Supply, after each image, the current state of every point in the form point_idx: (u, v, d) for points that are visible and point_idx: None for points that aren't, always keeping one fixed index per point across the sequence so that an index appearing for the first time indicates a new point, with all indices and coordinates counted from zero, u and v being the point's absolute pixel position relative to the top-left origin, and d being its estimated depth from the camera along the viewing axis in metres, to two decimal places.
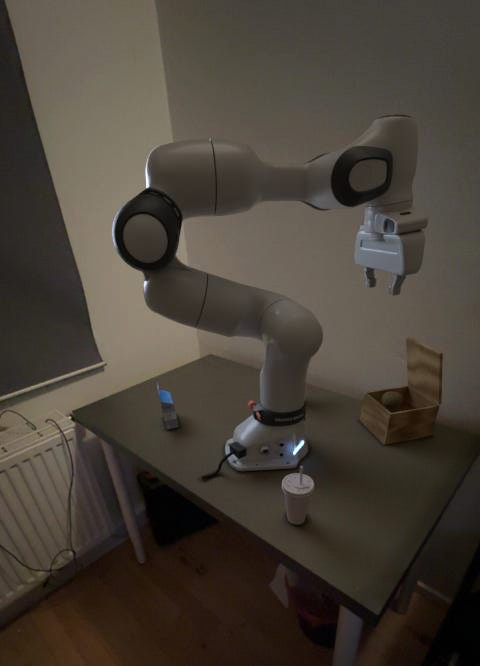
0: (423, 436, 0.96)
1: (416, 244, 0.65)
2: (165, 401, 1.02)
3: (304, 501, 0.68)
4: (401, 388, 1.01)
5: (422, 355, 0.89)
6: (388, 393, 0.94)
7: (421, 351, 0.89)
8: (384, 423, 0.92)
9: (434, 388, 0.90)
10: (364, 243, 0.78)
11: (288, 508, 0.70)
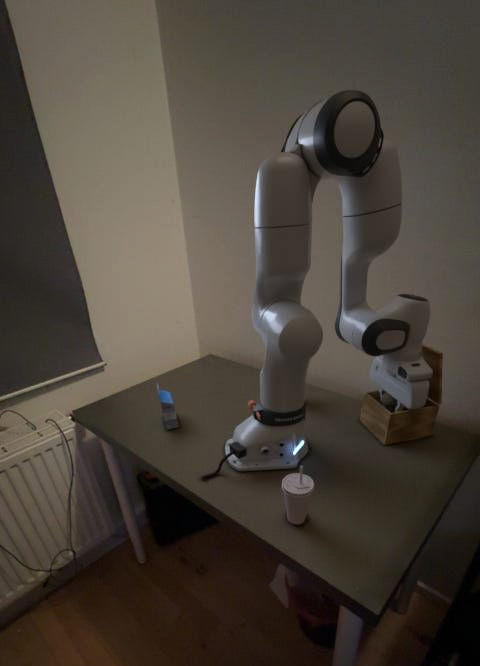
0: (423, 436, 0.96)
1: (422, 390, 0.83)
2: (165, 401, 1.02)
3: (304, 501, 0.68)
4: None
5: (422, 355, 0.89)
6: None
7: None
8: (384, 423, 0.92)
9: (434, 388, 0.90)
10: (379, 369, 0.96)
11: (288, 508, 0.70)
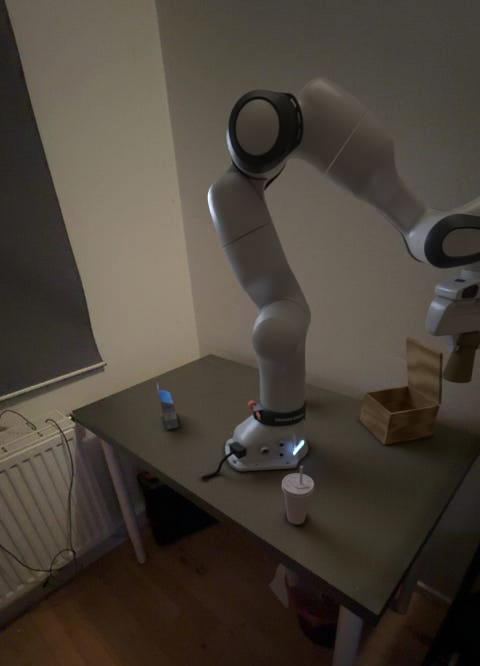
0: (423, 436, 0.96)
1: (437, 309, 0.70)
2: (165, 401, 1.02)
3: (304, 501, 0.68)
4: (401, 388, 1.01)
5: (422, 355, 0.89)
6: None
7: (421, 351, 0.89)
8: (384, 423, 0.92)
9: (434, 388, 0.90)
10: None
11: (288, 508, 0.70)
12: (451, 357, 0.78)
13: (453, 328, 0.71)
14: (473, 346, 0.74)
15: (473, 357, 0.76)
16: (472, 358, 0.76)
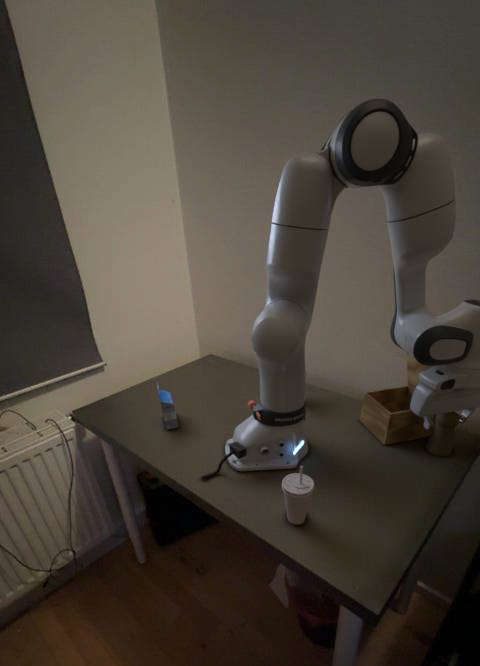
0: (423, 436, 0.96)
1: (420, 395, 0.80)
2: (165, 401, 1.02)
3: (304, 501, 0.68)
4: (401, 388, 1.01)
5: None
6: None
7: None
8: (384, 423, 0.92)
9: None
10: None
11: (288, 508, 0.70)
12: (433, 433, 0.89)
13: (434, 410, 0.82)
14: (452, 427, 0.85)
15: (452, 435, 0.87)
16: (451, 436, 0.87)
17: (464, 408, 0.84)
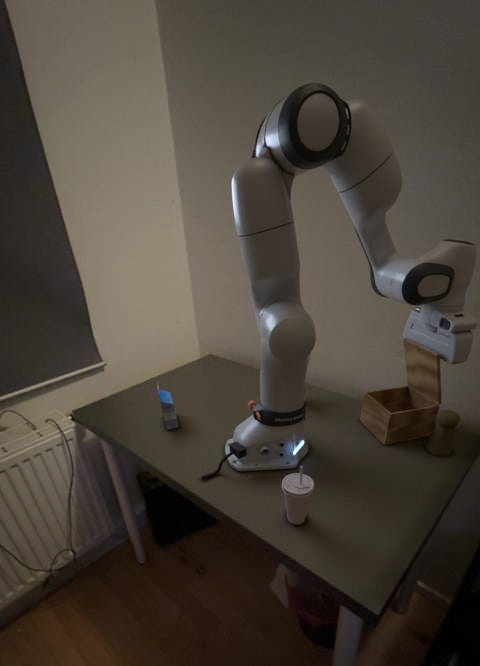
0: (423, 436, 0.96)
1: (466, 342, 0.79)
2: (165, 401, 1.02)
3: (304, 501, 0.68)
4: (401, 388, 1.01)
5: (420, 356, 0.89)
6: (448, 410, 0.86)
7: (419, 352, 0.89)
8: (384, 423, 0.92)
9: (433, 388, 0.90)
10: (415, 326, 0.92)
11: (288, 508, 0.70)
12: (433, 433, 0.89)
13: None
14: (452, 427, 0.85)
15: (452, 435, 0.87)
16: (451, 436, 0.87)
17: None
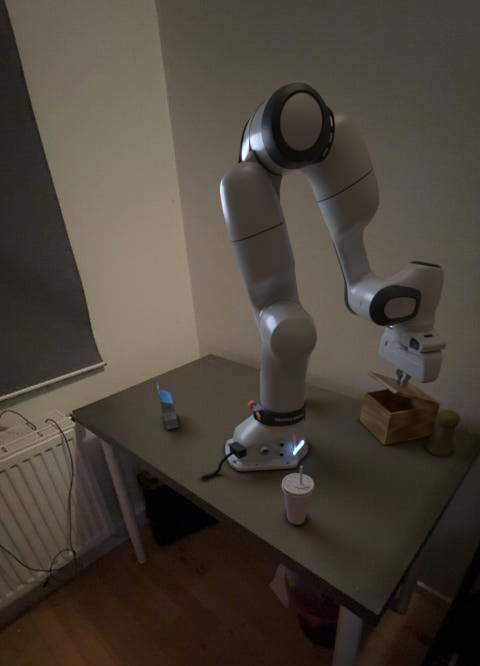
0: (423, 436, 0.96)
1: (435, 362, 0.80)
2: (165, 401, 1.02)
3: (304, 501, 0.68)
4: None
5: None
6: (448, 410, 0.86)
7: None
8: (384, 423, 0.92)
9: None
10: (389, 344, 0.93)
11: (288, 508, 0.70)
12: (433, 433, 0.89)
13: None
14: (452, 427, 0.85)
15: (452, 435, 0.87)
16: (451, 436, 0.87)
17: None
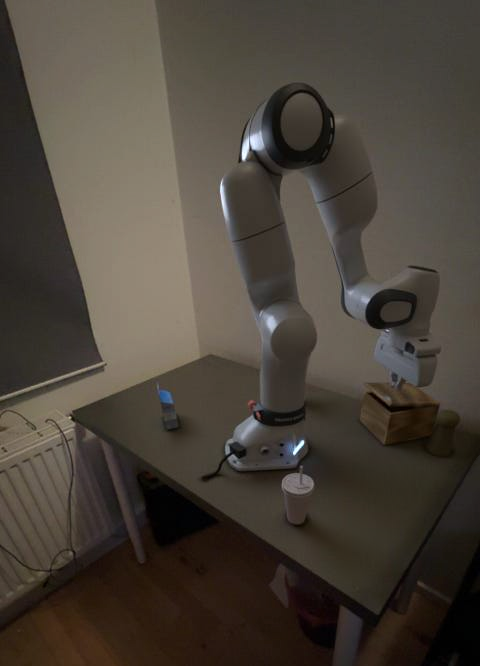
0: (423, 436, 0.96)
1: (430, 366, 0.80)
2: (165, 401, 1.02)
3: (304, 501, 0.68)
4: None
5: None
6: (448, 410, 0.86)
7: None
8: (384, 423, 0.92)
9: None
10: (384, 348, 0.93)
11: (288, 508, 0.70)
12: (433, 433, 0.89)
13: None
14: (452, 427, 0.85)
15: (452, 435, 0.87)
16: (451, 436, 0.87)
17: None
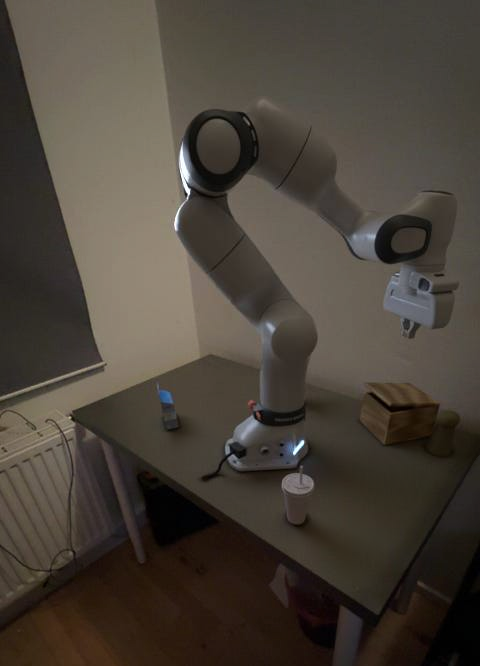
0: (423, 436, 0.96)
1: (447, 303, 0.73)
2: (165, 401, 1.02)
3: (304, 501, 0.68)
4: None
5: None
6: (448, 410, 0.86)
7: None
8: (384, 423, 0.92)
9: None
10: (395, 293, 0.86)
11: (288, 508, 0.70)
12: (433, 433, 0.89)
13: None
14: (452, 427, 0.85)
15: (452, 435, 0.87)
16: (451, 436, 0.87)
17: None
